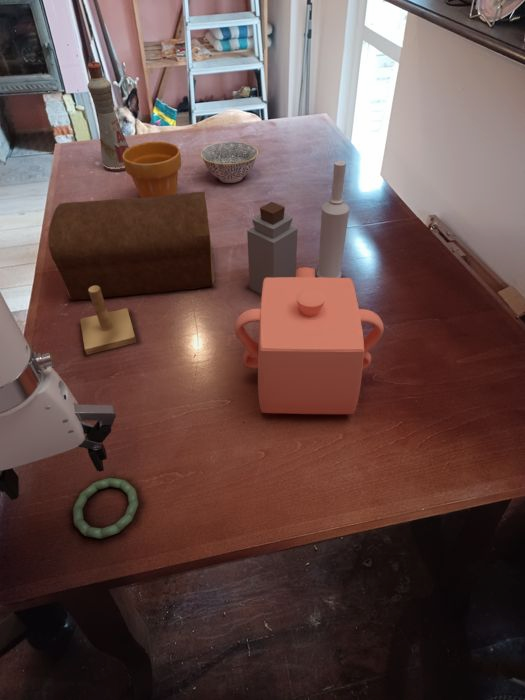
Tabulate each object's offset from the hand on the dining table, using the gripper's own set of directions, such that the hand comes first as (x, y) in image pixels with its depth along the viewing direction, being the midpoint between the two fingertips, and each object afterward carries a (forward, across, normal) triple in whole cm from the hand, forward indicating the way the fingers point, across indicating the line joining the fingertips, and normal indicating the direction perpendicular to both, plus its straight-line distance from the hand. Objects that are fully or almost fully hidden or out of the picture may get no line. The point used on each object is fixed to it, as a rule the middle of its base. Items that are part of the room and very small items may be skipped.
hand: (58, 474), depth 56 cm
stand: (+11, -8, -36) cm, 38 cm away
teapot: (+12, -39, -15) cm, 43 cm away
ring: (+10, -3, 0) cm, 10 cm away
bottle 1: (+11, -21, -112) cm, 115 cm away
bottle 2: (+12, -54, -36) cm, 66 cm away
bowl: (+12, -50, -91) cm, 105 cm away
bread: (+11, -18, -53) cm, 57 cm away
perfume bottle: (+12, -42, -38) cm, 58 cm away
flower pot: (+11, -28, -85) cm, 90 cm away
